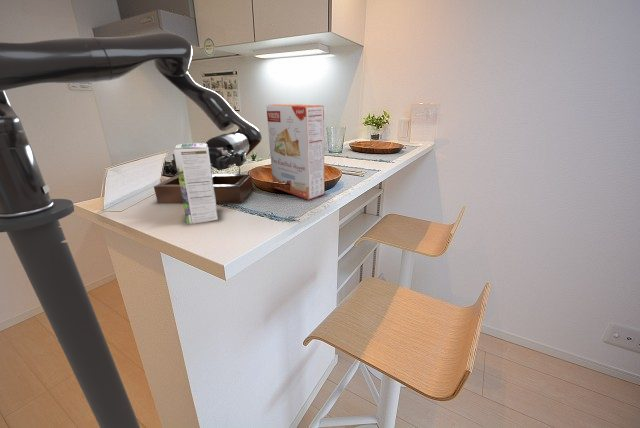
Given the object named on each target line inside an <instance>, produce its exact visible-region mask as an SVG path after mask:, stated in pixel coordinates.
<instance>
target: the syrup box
mask: <svg viewBox="0 0 640 428" xmlns="http://www.w3.org/2000/svg"><path fill="white" fill-rule="evenodd" d="M173 154H174V156H175V161H176V167H177V170H176V171H177V172H176V173H177V175H178V178H179V183H180V188H181V194H182V199H183V203H182V205H183V209H184V214H185V215H184V216H185V221H186V224H187V225H195V224H200V223H206V222H212V221H213V222H214V221H218V220H219V217H218V209H217V203H216V200H215V192H214V185H213V178H212V175H213V172H212V166H211V165H210V157H209V151H208V144H206V142H205V143H204V142H187V143H179V144H176V145H175V147H174V148H173Z"/></svg>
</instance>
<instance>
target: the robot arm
mask: <svg viewBox="0 0 640 428" xmlns="http://www.w3.org/2000/svg"><path fill="white" fill-rule="evenodd" d="M192 56H193V47H192V44H191V42H190V41H189V40H188V39H187V38H186V37H184V36H182V35H180V34H178V33H174V32H169V31H163V32H153V33H145V34H138V35H129V36H128V35H127V36H110V37H99V36H97V37H96V36H87V37H85V36H84V37H83V36H82V37H81V36H80V37H63V38H62V37H61V38H53V39H44V40H38V41H37V40H36V41H32V42H31V41H30V42H6V41H5V42H2V41H0V218H2V219H9V218H19V217H25V216H30V215H34V214H38V213H41V212H44V211H47V210H49V209H51V208H53V207H54V203H53V201H52V200H51V199H52V197H51V195H50V191H51V189H50V186H49V184H48V183H47V184H46V182H45V179H44V177H43V174H42V171H41V168H40V166H39V164H38V161H37V159H36V156H35V154H34V151H33V149H32V146H31V144H30V142H29V138H28V136H27V134H26V131H25V129H24V126H23V123H22V121H21V119H20V117H19V116H18V115H17V114H16V111H15V110H14V109H13V107H12V106H11V103H10V101H9V98H8V97H7V94H6V92H5V91H8V90H12V89H18V88H22V87H29V86H33V85H34V86H35V85H40V84H91V83H99V82H101V83H102V82H108V81H109V82H110V81H114V80H117V79H121V78H123V77H125V76H126V75H128V74H130V73H131V72H132V71H135V70H136V69H138V68H139V67H141V66H142V65H144V64H147V63H150V62H153V65H154V67H155V69H156V70H157V71H158V73H159V74H160V75H161V76H163V77H164V79H166V80H167V81H168V82H169V83H170V84H172V85H173V86H174V87H175V88H176V89H177V90H179V91H180V92H181V93H182V94H183V95H185V96H186V97H187V98H188V99H190V100H191V101H192V102H193V103H194V104H195V105H196V106H197V107H198V108H199V109H200V110H201V111H202V112H203V113H204V114H205V115H206V117H207V118H208V119H209V120H210V121H211V122H212V124H214V126H215V127H216V128H217V129H218V130H220V131H222V132H227V131H229V130H232V129H233V128H234V127H236V126H237V128H238V129H237V130H236V131H231V132H229V133H223V134H220V135H217V136H214V137H211V138H209V139H208V140H207V141H206V142H205V143H206V144H208V151H209V157H210V165H211V168H214V169H216V170H217V171H223V170H227V169H229V168H231V167H233V165H235V166H236V167H242V165H244V164H245V163H246V162H247V156H249V155H250V154H251V152H253V151H254V150H255V148H257V147H258V146H259V145H260V144H261V142H262V140H263V135H262V133H261V131H260V130H259V128H258V127H256V126H255V125H254V124H252V123H250V122H248V121H247V120H245V119H244V118H243V117H241V116H240V115H239V114H238V113H237V112H236V111H235V110H234V109H233V108H232V107H231V106H230V104H229V103H228V102H227V101H226V99H224V97H222V96H221V95H220V94H219V93H218V92H216V91H214V90H211V89H209V88H206V87H203V86H202V85H200V84H198V83H197V82H195V80H194V79H193V77H191V75H190V74H189V72H188V71H189V68H190V64H191V61H192V58H193V57H192ZM171 164H172V168H173V170H175V171H177V167H176V161H175V156H174V153H173V154H172V160H171Z"/></svg>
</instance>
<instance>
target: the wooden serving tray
mask: <svg viewBox="0 0 640 428" xmlns="http://www.w3.org/2000/svg"><path fill="white" fill-rule="evenodd" d="M212 178H213V185H214V192H215V200H216V204H242V203H243V202H244V201H245V199H246V198H247V197H248V196H249V194H250V193H251V192H252V191H253V190H254V188H253V178H252V174H212ZM153 189H154V194H155V198H156V202H157V203H158V204H183V199H182V194H181V188H180V183H179V178H178V174H176V175H174V176H171V177H170V178H168V179H166V180H164V181H162V182H160V183H158V184H156V185H154V186H153Z"/></svg>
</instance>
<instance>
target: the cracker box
mask: <svg viewBox="0 0 640 428" xmlns="http://www.w3.org/2000/svg"><path fill="white" fill-rule="evenodd" d="M265 107H266V118H267V130H268V143H269V152H270V153H269V154H270V165H271V179H272V183H273V182H278V183H285V184H290V191H289V190H286V189H283V188H280V187H273V186H272V188H273V189H276V190H279V191H281V192H285V193H287V194H289V195H293V196H296V197H298V198H302V199H305V200H308V201H310V200H312V199H315V198H318V197H321V196H324V195H325V194H326V193H325V191H326V189H325V187H326V186H325V183H326V182H325V108H324V107H325V106H324V105H321V104H320V105H319V104H303V103H278V104H277V103H273V104H267V105H266V106H265Z"/></svg>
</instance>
